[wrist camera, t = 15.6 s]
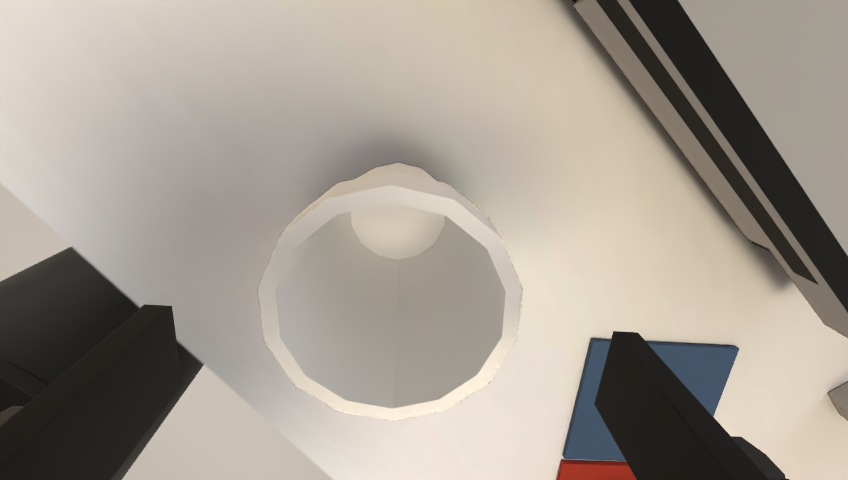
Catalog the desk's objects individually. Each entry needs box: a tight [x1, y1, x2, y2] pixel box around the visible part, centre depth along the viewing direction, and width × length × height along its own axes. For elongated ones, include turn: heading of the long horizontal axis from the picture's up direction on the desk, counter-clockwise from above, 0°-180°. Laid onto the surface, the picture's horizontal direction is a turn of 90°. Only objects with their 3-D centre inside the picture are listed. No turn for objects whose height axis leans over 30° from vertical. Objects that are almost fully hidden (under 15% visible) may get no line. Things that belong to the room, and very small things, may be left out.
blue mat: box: [563, 339, 739, 461], centre depth 34 cm, size 11×11×1 cm
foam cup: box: [258, 163, 523, 421], centre depth 22 cm, size 10×9×13 cm
